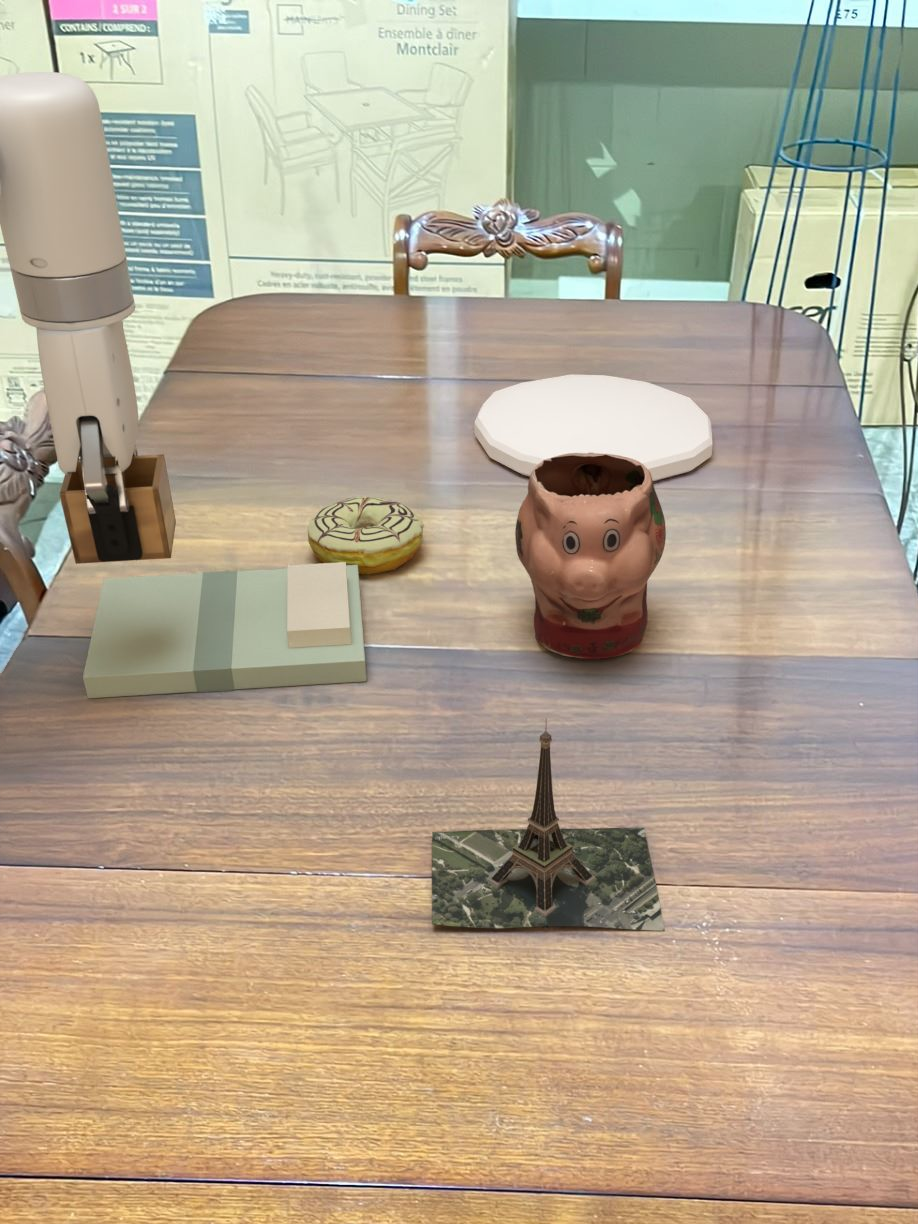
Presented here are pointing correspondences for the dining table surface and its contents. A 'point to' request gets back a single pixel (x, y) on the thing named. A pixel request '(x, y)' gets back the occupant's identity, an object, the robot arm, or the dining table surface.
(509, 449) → the decorative plate
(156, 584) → the bed
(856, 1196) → the dining table surface
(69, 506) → the open wooden box
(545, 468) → the decorative planter
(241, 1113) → the dining table surface
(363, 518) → the decorated donut
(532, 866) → the eiffel tower figurine
